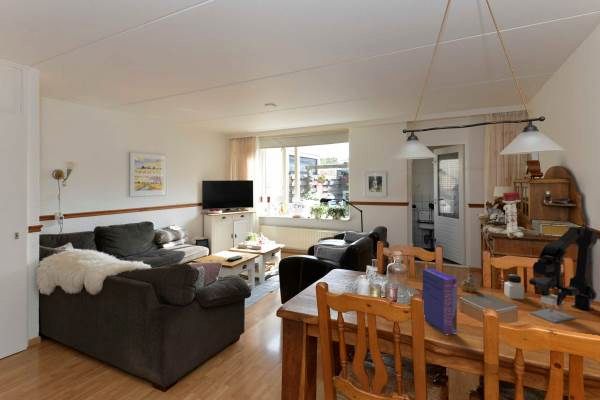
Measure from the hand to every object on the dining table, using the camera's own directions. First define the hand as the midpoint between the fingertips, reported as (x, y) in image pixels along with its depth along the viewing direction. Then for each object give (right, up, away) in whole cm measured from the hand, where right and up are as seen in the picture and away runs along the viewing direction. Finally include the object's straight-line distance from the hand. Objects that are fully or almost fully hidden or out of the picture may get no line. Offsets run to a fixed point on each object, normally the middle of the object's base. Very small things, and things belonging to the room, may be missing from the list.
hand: (552, 303), depth 150 cm
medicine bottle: (-1, -5, +25) cm, 26 cm away
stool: (0, -3, 0) cm, 3 cm away
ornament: (-20, -4, +36) cm, 41 cm away
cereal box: (-57, -8, -8) cm, 58 cm away
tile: (0, -6, 0) cm, 6 cm away
